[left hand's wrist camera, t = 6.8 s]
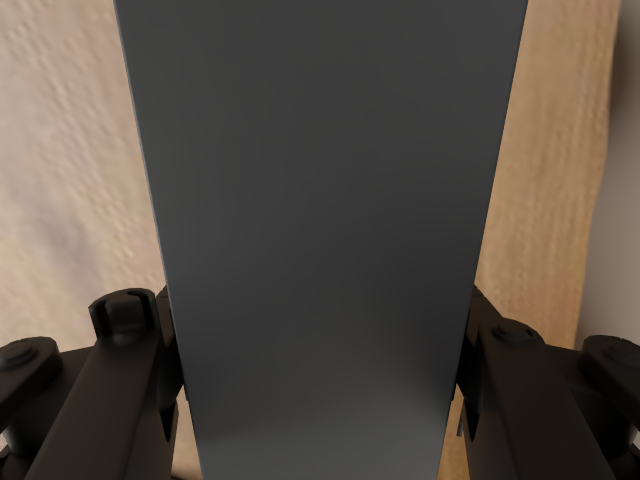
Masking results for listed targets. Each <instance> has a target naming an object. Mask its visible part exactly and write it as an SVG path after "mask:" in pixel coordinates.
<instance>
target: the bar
mask: <svg viewBox="0 0 640 480" xmlns="http://www.w3.org/2000/svg"><path fill="white" fill-rule="evenodd" d="M113 2H114V8H115V13H116V18H117V24H118V29H119V34H120V40H121V45H122V50H123V56H124V61H125V66H126V72H127V77H128V82H129V88H130V93H131V98H132V104H133V109H134V114H135V120H136V125H137V130H138V136H139V141H140V146H141V152H142V157H143V162H144V168H145V173H146V178H147V184H148V189H149V194H150V200H151V205H152V210H153V216H154V221H155V226H156V232H157V237H158V242H159V248H160V253H161V258H162V264H163V269H164V275H165V280H166V285H167V291H168V296H169V301H170V307H171V312H172V317H173V323H174V328H175V333H176V339H177V344H178V349H179V355H180V360H181V365H182V371H183V376H184V381H185V387H186V392H187V397H188V403H189V408H190V413H191V419H192V424H193V429H194V435H195V440H196V445H197V451H198V456H199V461H200V467H201V472H202V477H203V480H436V479H437V474H438V468H439V463H440V458H441V453H442V447H443V442H444V437H445V432H446V427H447V421H448V416H449V411H450V406H451V401H452V395H453V390H454V385H455V380H456V374H457V369H458V364H459V359H460V354H461V348H462V343H463V338H464V333H465V327H466V322H467V317H468V312H469V307H470V301H471V296H472V291H473V286H474V281H475V275H476V270H477V265H478V260H479V254H480V249H481V244H482V239H483V234H484V228H485V223H486V218H487V213H488V208H489V202H490V197H491V192H492V187H493V181H494V176H495V171H496V166H497V161H498V155H499V150H500V145H501V140H502V134H503V129H504V124H505V119H506V114H507V108H508V103H509V98H510V93H511V88H512V82H513V77H514V72H515V67H516V61H517V56H518V51H519V46H520V41H521V35H522V30H523V25H524V20H525V14H526V9H527V4H528V0H113Z"/></svg>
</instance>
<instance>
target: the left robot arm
mask: <svg viewBox="0 0 640 480" xmlns="http://www.w3.org/2000/svg"><path fill="white" fill-rule="evenodd" d="M88 309H89V312H90V316H91V319H92V323H93V326H94V329H95V333H96V336H97V341H96V343H95V345H94V346H91V347H87V348H82V349H77V350H71V351H66V352H61V353H60V352H59V349H58V346H57V343H56V341H54V340H53V339H52V338H50V337H41V336H40V337H32V338H24V339H21V340H17V341H14V342H11V343H9V344H8V345H5V346H3V347H1V348H0V434H1V433H3V435H4V437H5V439H6V441H7V443H8V444H7V445H6V446H5V448H4V449H3V450H2V451H1V452H0V480H176V479H173V478H170V476H171V469H172V461H173V454H174V446H175V439H176V431H177V423H178V416H179V411H178V405H177V400H176V398H177V396H178V394H179V392H180V390H181V387H182V385H184V390H185V396H186V401H188V397H187V392H186V387H185V381H184V376H183V371H182V365H181V360H180V355H179V349H178V344H177V339H176V333H175V328H174V323H173V317H172V312H171V307H170V301H169V296H168V291H167V285H166V286H165V287H164V288H163V291H160V293H159V294H158V295H157V296H156V298H155V293H153V292H152V291H150V290H148V289H143V288H129V289H124V290H119V291H115V292H112V293H110V294H107V295H104V296H103V297H101V298H99V299H97V300H95V301H94V302H93V303H92V304H91V305H90V306H89V307H88ZM456 384H458V386H459V388H460V390H461V392H462V394H463V396H464V400H463V405H462V410H461V415H460V419H459V424H458V429H457V436H459V437H461V436H462V432H463V430H464V438H465V445H466V453H467V460H468V468H469V476H470V480H640V450H639V449H638V448H637V447H636V446H635V445H634V443H633V441H634V439H635V436H636V434H637V432H638V431H639V432H640V346H639V345H636V344H634V343H632V342H631V341H629V340H626V339H623V338H622V339H620V338H619V337H615V336H606V335H594V336H589V337H588V338H586V339H585V340H584V343H583V345H582V348H581V351H576V350H572V349H566V348H561V347H556V346H551V345H547V344H545V342H544V340H543V338H542V337H541V336H540V335H539V334H538V333H537V331H535V330H534V329H532V328H531V327H529V326H528V325H526V324H523V323H521V322H518V321H516V320H512V319H508V318H503V317H502V316H501V314H500V313H499V312H498V311H497V310H496V309H495V307H494V306H493V305H492V304H491V303H490V302H489V301H488V299H487V298H486V297H484V295H483V294H482V292H481V291H480V290H479V289H477V287H476V285H475V284H474V286H473V291H472V296H471V301H470V307H469V312H468V317H467V322H466V327H465V333H464V338H463V343H462V348H461V354H460V359H459V364H458V369H457V374H456V380H455V385H454V390H453V395H452V401H453V400H454V394H455V389H456Z"/></svg>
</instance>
